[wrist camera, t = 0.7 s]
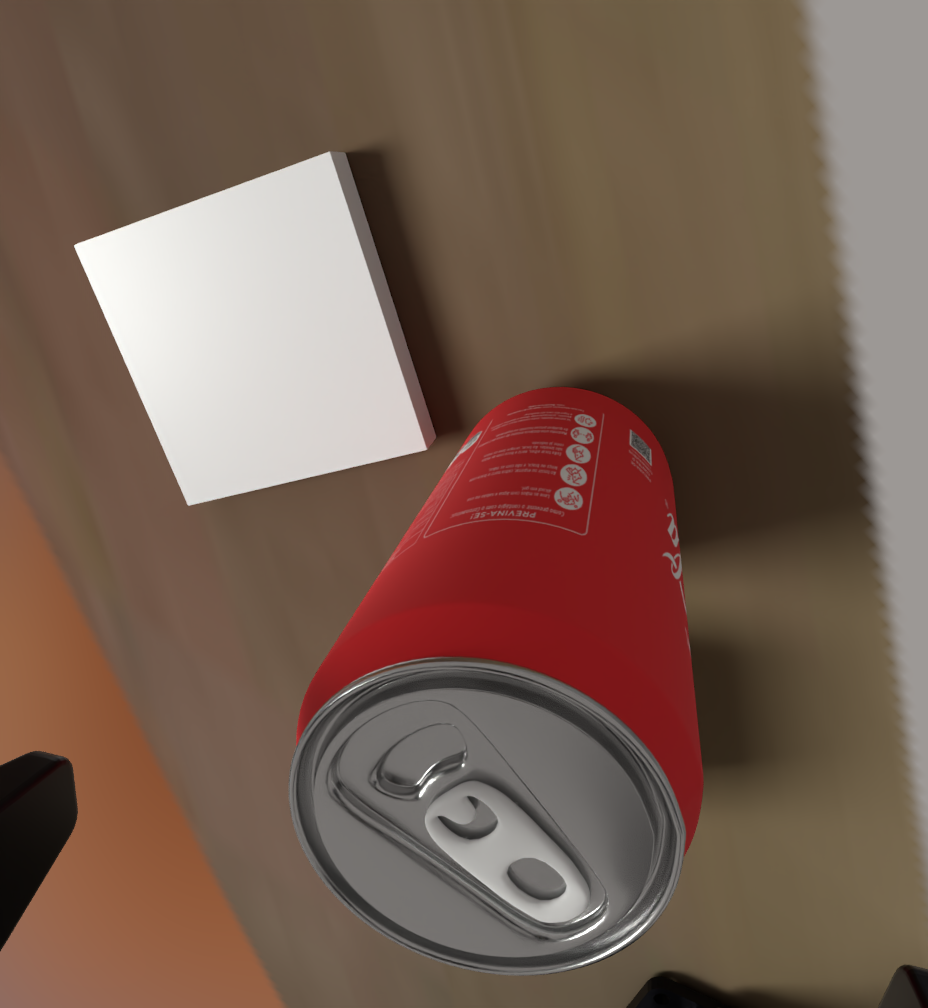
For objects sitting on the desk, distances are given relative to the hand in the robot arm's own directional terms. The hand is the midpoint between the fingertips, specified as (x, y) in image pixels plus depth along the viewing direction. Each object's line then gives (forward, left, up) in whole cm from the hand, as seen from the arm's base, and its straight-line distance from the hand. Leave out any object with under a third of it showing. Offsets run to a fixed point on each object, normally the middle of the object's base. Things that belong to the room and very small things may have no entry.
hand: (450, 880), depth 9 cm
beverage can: (0, 0, -13) cm, 13 cm away
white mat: (0, +8, -13) cm, 15 cm away
